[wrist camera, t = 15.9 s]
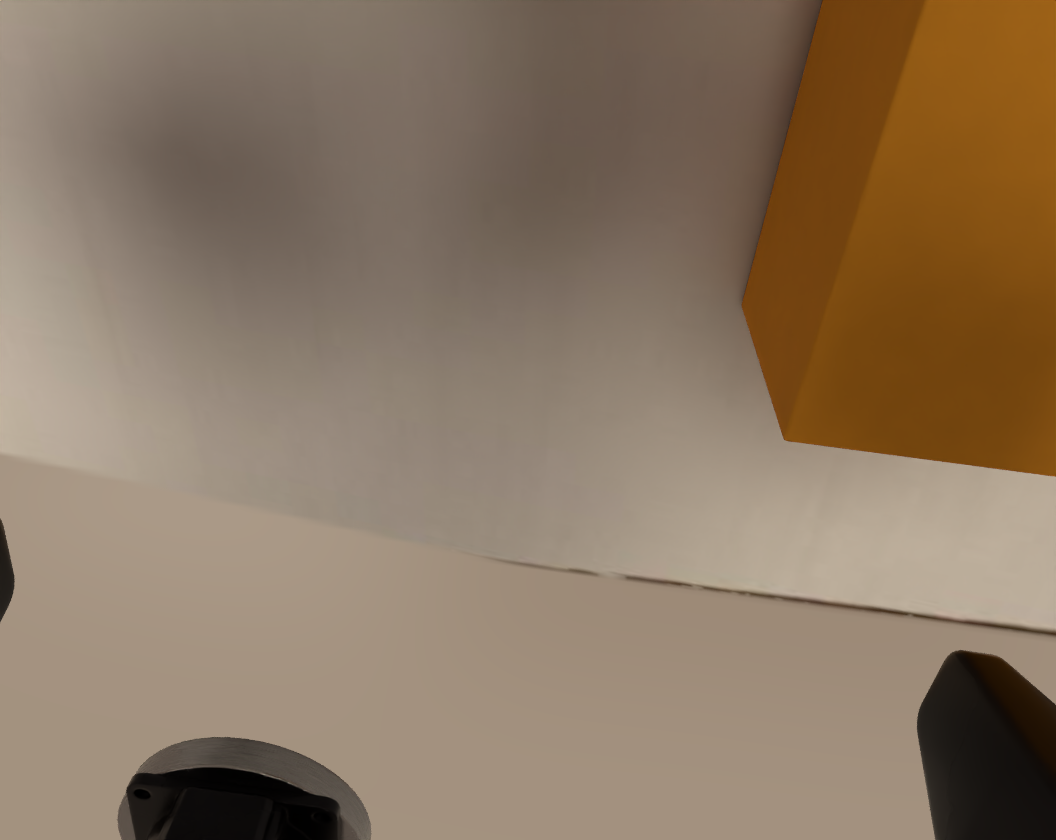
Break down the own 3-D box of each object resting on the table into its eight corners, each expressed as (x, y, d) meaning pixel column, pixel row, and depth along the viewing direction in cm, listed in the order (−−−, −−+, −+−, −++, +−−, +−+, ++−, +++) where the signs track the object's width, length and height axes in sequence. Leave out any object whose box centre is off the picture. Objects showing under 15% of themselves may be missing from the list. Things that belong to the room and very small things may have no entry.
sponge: (1007, 342, 18) (1128, 487, 14) (740, 306, 18) (783, 442, 14) (1281, -268, 13) (1604, -322, 9) (906, -319, 13) (1053, -400, 9)
